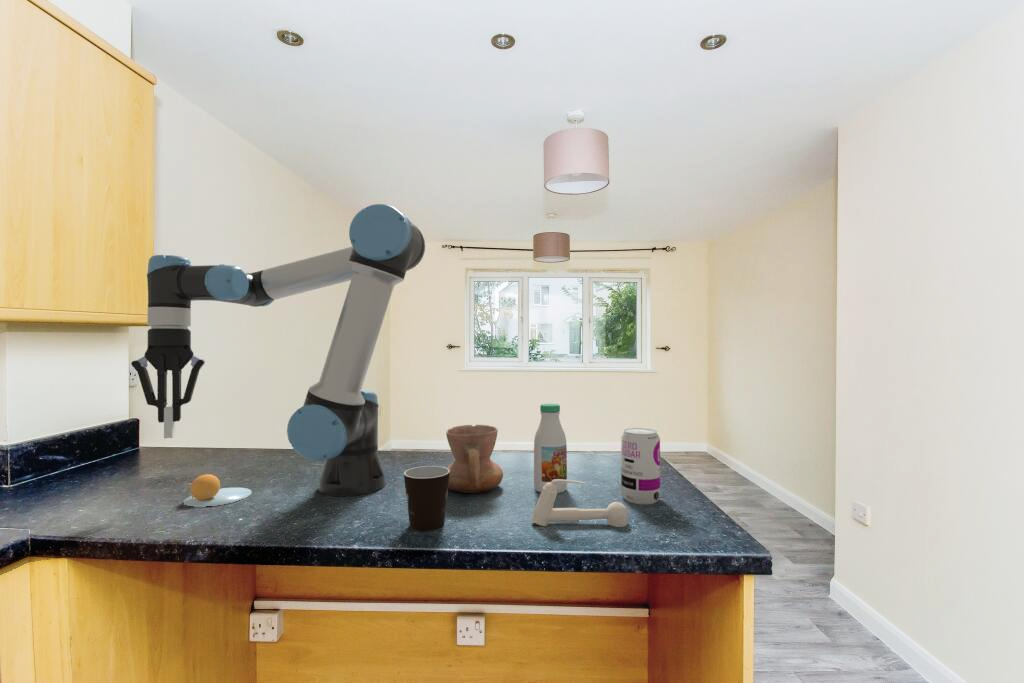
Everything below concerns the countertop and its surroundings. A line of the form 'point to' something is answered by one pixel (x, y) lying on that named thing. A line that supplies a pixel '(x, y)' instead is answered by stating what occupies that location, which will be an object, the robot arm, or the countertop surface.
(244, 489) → the disc
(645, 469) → the supplement can
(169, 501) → the countertop surface
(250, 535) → the countertop surface
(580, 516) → the faucet
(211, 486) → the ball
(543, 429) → the milk bottle
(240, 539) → the countertop surface
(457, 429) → the ceramic jug
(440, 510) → the brown cup
